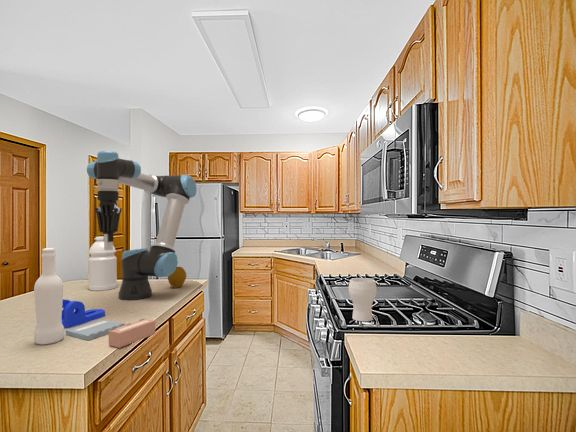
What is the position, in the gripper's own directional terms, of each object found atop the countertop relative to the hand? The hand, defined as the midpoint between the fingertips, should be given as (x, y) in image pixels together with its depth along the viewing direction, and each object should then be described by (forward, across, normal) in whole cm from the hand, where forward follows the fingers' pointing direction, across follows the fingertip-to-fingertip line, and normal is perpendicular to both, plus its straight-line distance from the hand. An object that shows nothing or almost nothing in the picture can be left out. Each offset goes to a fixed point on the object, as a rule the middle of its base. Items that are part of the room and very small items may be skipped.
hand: (108, 250), depth 143 cm
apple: (+27, -15, +53) cm, 61 cm away
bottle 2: (+27, -49, +33) cm, 65 cm away
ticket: (+26, +12, -14) cm, 32 cm away
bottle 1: (+27, +7, -27) cm, 38 cm away
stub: (+26, +30, -14) cm, 42 cm away
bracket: (+27, -5, -8) cm, 28 cm away
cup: (+27, +91, +42) cm, 104 cm away
